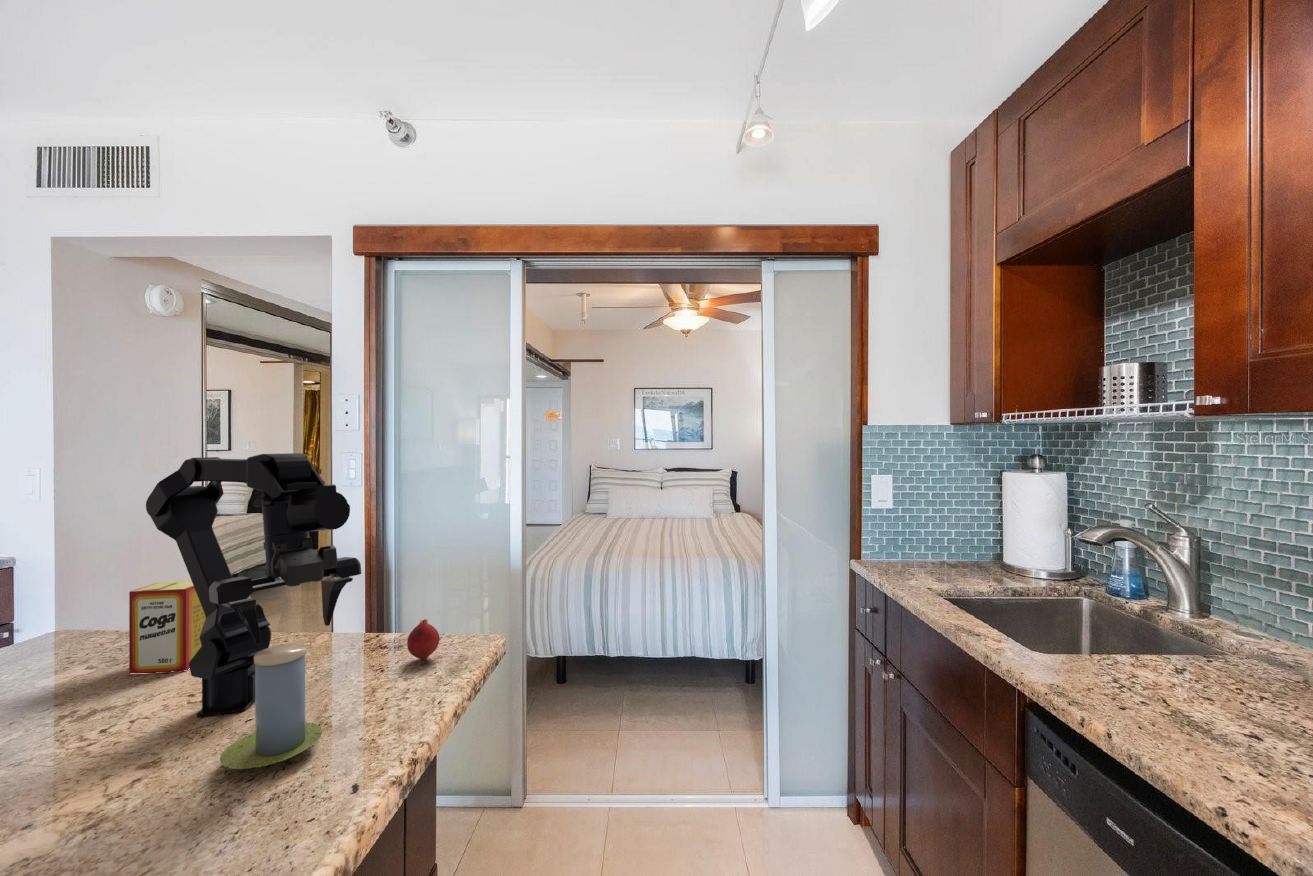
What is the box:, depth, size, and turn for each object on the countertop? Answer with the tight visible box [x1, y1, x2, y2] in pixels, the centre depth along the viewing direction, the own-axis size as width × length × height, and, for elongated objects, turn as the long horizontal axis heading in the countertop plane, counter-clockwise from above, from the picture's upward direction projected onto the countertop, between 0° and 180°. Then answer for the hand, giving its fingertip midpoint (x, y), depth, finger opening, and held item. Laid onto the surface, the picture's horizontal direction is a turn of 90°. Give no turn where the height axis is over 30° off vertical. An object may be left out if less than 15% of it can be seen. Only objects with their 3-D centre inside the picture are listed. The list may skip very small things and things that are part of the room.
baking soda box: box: [128, 580, 206, 674], centre depth 103 cm, size 10×6×16 cm
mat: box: [219, 721, 323, 770], centre depth 72 cm, size 11×11×2 cm
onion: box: [406, 618, 441, 661], centre depth 104 cm, size 6×6×8 cm
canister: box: [254, 642, 307, 756], centre depth 72 cm, size 6×6×12 cm
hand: (294, 634), depth 82 cm, fingers open, 9 cm apart
